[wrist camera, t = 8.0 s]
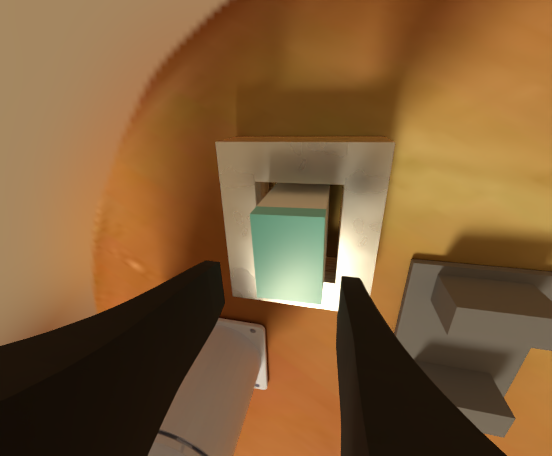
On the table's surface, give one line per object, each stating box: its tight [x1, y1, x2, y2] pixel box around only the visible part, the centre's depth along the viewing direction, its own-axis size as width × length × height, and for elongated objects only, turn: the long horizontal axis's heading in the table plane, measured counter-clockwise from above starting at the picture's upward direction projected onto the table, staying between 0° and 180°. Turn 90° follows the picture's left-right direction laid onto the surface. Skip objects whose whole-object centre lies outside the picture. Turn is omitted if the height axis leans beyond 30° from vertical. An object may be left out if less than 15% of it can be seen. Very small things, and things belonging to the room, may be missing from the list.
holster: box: [394, 259, 552, 437], centre depth 16 cm, size 8×11×4 cm
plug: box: [250, 182, 330, 305], centre depth 14 cm, size 3×4×6 cm
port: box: [215, 136, 395, 311], centre depth 16 cm, size 9×10×3 cm
